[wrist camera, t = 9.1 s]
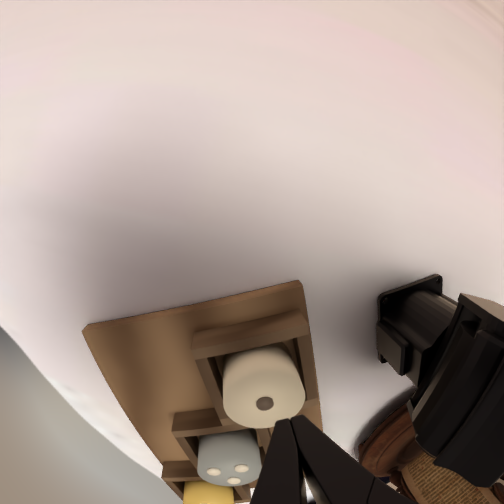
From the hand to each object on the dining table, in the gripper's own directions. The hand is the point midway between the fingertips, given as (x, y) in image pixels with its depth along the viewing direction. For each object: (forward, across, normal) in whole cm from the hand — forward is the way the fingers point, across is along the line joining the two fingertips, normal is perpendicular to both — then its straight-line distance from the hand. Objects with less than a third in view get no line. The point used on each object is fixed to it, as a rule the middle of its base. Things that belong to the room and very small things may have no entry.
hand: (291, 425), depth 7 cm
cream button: (+11, +1, +5) cm, 12 cm away
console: (+12, +5, +12) cm, 17 cm away
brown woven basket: (+12, -14, +22) cm, 29 cm away
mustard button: (+10, +9, +19) cm, 23 cm away
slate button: (+10, +5, +12) cm, 17 cm away
